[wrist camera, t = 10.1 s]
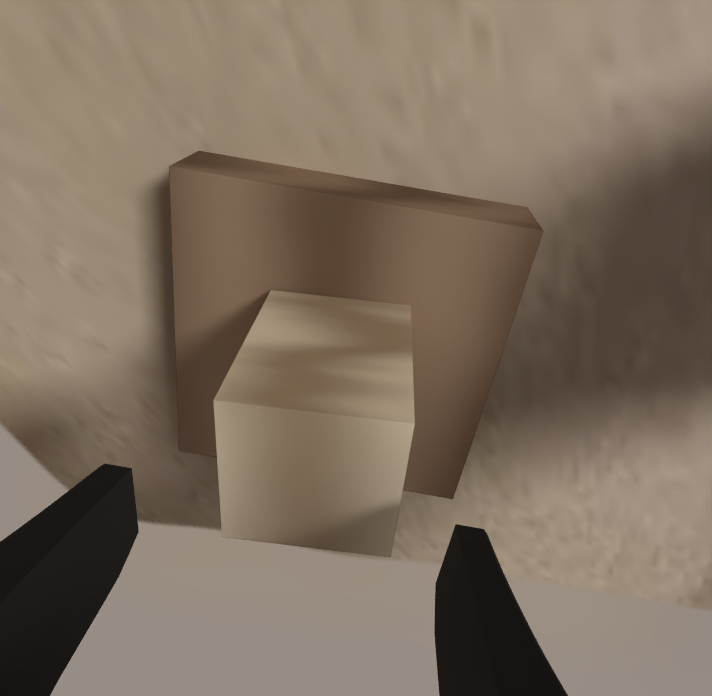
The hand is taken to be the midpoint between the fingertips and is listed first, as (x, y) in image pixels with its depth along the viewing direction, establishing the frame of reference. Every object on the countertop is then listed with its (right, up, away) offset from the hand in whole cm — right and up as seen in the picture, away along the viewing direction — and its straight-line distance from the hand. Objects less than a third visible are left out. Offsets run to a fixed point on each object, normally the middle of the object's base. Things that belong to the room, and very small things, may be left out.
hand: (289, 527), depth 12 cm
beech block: (+1, +4, +6) cm, 7 cm away
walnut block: (+1, +5, +9) cm, 10 cm away
